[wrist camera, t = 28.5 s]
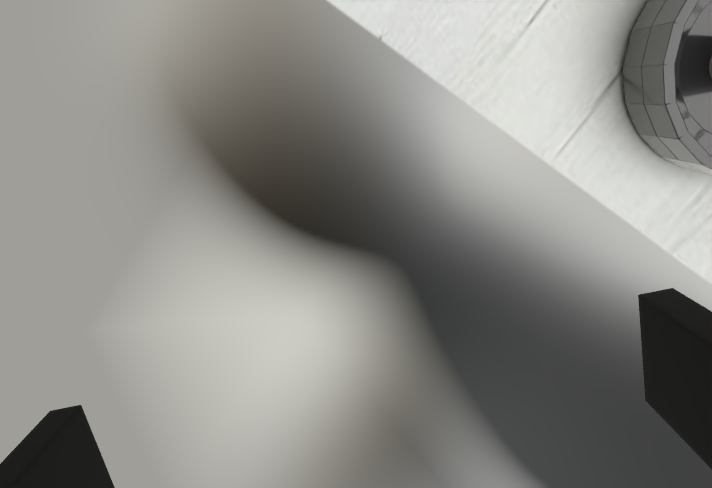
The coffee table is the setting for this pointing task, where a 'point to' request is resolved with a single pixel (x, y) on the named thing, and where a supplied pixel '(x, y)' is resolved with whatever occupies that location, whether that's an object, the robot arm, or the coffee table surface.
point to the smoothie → (710, 67)
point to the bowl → (672, 81)
